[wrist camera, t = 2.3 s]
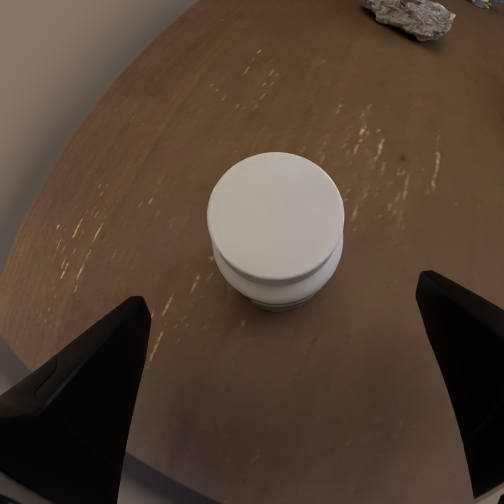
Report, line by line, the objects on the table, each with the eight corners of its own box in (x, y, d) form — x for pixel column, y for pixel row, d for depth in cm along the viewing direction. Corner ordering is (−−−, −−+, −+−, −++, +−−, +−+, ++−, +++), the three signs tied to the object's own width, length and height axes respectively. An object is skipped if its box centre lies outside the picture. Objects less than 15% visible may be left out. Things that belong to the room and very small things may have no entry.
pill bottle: (231, 233, 20) (190, 150, 11) (314, 221, 20) (338, 131, 10) (240, 318, 19) (197, 304, 9) (328, 306, 18) (375, 280, 9)
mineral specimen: (435, 59, 24) (347, 13, 26) (444, 33, 26) (372, -5, 28) (453, 26, 19) (356, -22, 20) (458, 6, 21) (380, -34, 23)
